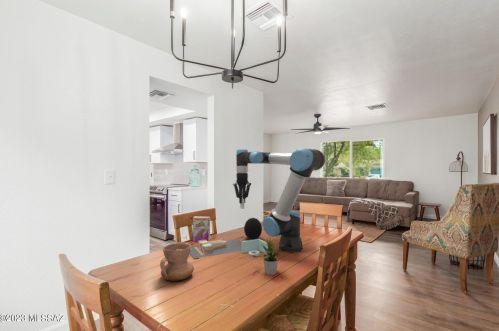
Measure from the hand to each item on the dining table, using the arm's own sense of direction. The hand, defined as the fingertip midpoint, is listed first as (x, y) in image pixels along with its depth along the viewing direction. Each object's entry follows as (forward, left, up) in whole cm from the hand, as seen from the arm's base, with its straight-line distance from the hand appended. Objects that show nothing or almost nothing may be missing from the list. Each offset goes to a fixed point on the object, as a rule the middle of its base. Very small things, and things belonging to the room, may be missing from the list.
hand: (242, 208), depth 171 cm
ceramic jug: (-35, +49, -23) cm, 64 cm away
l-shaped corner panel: (-24, +3, -24) cm, 34 cm away
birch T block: (-5, +22, -22) cm, 31 cm away
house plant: (-48, +8, -23) cm, 53 cm away
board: (-5, +18, -23) cm, 30 cm away
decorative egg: (+3, -10, -23) cm, 25 cm away
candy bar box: (+15, +23, -23) cm, 36 cm away
